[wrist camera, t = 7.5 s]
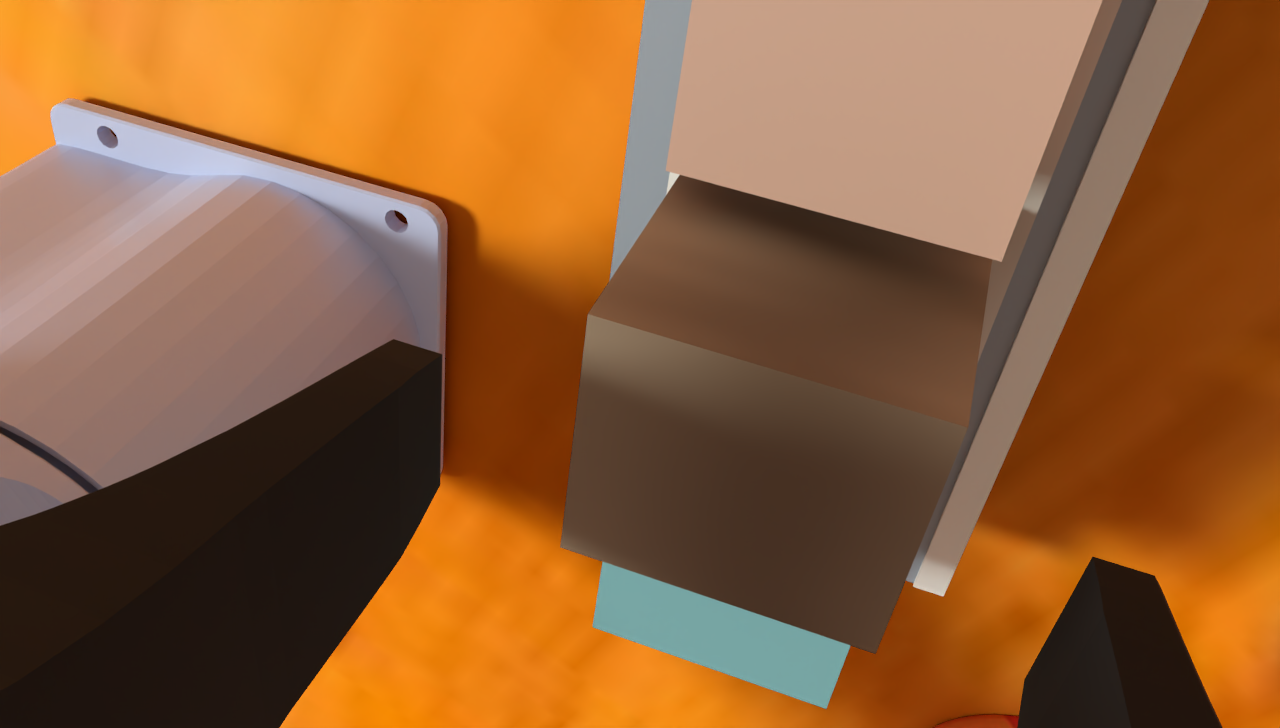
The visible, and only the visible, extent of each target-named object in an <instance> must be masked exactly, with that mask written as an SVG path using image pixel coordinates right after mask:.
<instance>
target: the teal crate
mask: <svg viewBox="0 0 1280 728" xmlns="http://www.w3.org/2000/svg"><path fill="white" fill-rule="evenodd" d="M593 627H594V628H596V629H599V630H602V631H605V632H608V633H611V634H614V635H616V636H619V637H622V638H625V639H628V640H631V641H634V642H636V643H639V644H642V645H645V646H648V647H651V648H654V649H656V650H659V651H662V652H665V653H668V654H671V655H674V656H676V657H679V658H682V659H685V660H688V661H691V662H694V663H696V664H699V665H702V666H705V667H708V668H711V669H713V670H716V671H719V672H722V673H725V674H728V675H731V676H733V677H736V678H739V679H742V680H745V681H748V682H751V683H753V684H756V685H759V686H762V687H765V688H768V689H771V690H773V691H776V692H779V693H782V694H785V695H788V696H791V697H793V698H796V699H799V700H802V701H805V702H808V703H811V704H813V705H816V706H819V707H822V708H825V709H826V708H827V706H828V703H829V700H830V698H831V695H832V693H833V690H834V687H835V685H836V682H837V680H838V677H839V674H840V672H841V669H842V667H843V664H844V661H845V659H846V656H847V654H848V651H849V648H850V646H851V645H848V644H845V643H842V642H839V641H836V640H833V639H830V638H827V637H824V636H821V635H818V634H815V633H812V632H809V631H806V630H803V629H800V628H797V627H794V626H791V625H789V624H786V623H783V622H780V621H777V620H774V619H771V618H768V617H765V616H762V615H759V614H756V613H753V612H750V611H747V610H744V609H741V608H738V607H735V606H732V605H730V604H727V603H724V602H721V601H718V600H715V599H712V598H709V597H706V596H703V595H700V594H697V593H694V592H691V591H688V590H685V589H682V588H679V587H676V586H673V585H670V584H668V583H665V582H662V581H659V580H656V579H653V578H650V577H647V576H644V575H641V574H638V573H635V572H632V571H629V570H626V569H623V568H620V567H617V566H614V565H611V564H608V563H606V562H603V563H602V569H601V576H600V582H599V589H598V595H597V602H596V608H595V615H594V621H593Z"/></svg>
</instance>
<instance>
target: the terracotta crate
mask: <svg viewBox="0 0 1280 728" xmlns="http://www.w3.org/2000/svg"><path fill="white" fill-rule="evenodd" d="M1102 1H1103V0H692V3H691V10H690V16H689V23H688V29H687V36H686V42H685V49H684V55H683V61H682V68H681V74H680V81H679V87H678V94H677V100H676V107H675V113H674V120H673V126H672V132H671V139H670V145H669V152H668V158H667V165H666V171H668V172H672V173H676V174H679V175H683V176H687V177H690V178H694V179H698V180H701V181H705V182H709V183H713V184H716V185H720V186H724V187H727V188H731V189H735V190H738V191H742V192H746V193H749V194H753V195H757V196H760V197H764V198H768V199H772V200H775V201H779V202H783V203H786V204H790V205H794V206H797V207H801V208H805V209H808V210H812V211H816V212H820V213H823V214H827V215H831V216H834V217H838V218H842V219H845V220H849V221H853V222H856V223H860V224H864V225H868V226H871V227H875V228H879V229H882V230H886V231H890V232H893V233H897V234H901V235H904V236H908V237H912V238H915V239H919V240H923V241H927V242H930V243H934V244H938V245H941V246H945V247H949V248H952V249H956V250H960V251H963V252H967V253H971V254H975V255H978V256H982V257H986V258H989V259H993V260H997V261H1000V262H1002V259H1003V257H1004V254H1005V252H1006V249H1007V247H1008V244H1009V241H1010V239H1011V236H1012V234H1013V231H1014V228H1015V226H1016V223H1017V221H1018V218H1019V215H1020V213H1021V210H1022V208H1023V205H1024V203H1025V200H1026V197H1027V195H1028V192H1029V190H1030V187H1031V184H1032V182H1033V179H1034V177H1035V174H1036V171H1037V169H1038V166H1039V164H1040V161H1041V158H1042V156H1043V153H1044V151H1045V148H1046V146H1047V143H1048V140H1049V138H1050V135H1051V133H1052V130H1053V127H1054V125H1055V122H1056V120H1057V117H1058V114H1059V112H1060V109H1061V107H1062V104H1063V102H1064V99H1065V96H1066V94H1067V91H1068V89H1069V86H1070V83H1071V81H1072V78H1073V76H1074V73H1075V70H1076V68H1077V65H1078V63H1079V60H1080V58H1081V55H1082V52H1083V50H1084V47H1085V45H1086V42H1087V39H1088V37H1089V34H1090V32H1091V29H1092V26H1093V24H1094V21H1095V19H1096V16H1097V14H1098V11H1099V8H1100V6H1101V3H1102Z"/></svg>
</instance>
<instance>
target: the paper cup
mask: <svg viewBox="0 0 1280 728" xmlns="http://www.w3.org/2000/svg"><path fill="white" fill-rule="evenodd" d="M1018 719H1019V716H1011V715H995V714H991V715H974V716H966V717H961V718H957V719H953V720H950V721H947V722H944V723H941V724H939V725H937V726H935V727H933V728H1017V726H1018Z"/></svg>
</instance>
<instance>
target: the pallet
mask: <svg viewBox="0 0 1280 728" xmlns="http://www.w3.org/2000/svg"><path fill="white" fill-rule="evenodd" d="M1121 2H1122V0H1103V1H1102V3H1101V6H1100V8H1099V11H1098V14H1097V16H1096V19H1095V21H1094V24H1093V26H1092V29H1091V32H1090V34H1089V37H1088V39H1087V42H1086V45H1085V47H1084V50H1083V52H1082V55H1081V58H1080V60H1079V63H1078V65H1077V68H1076V70H1075V73H1074V76H1073V78H1072V81H1071V83H1070V86H1069V89H1068V91H1067V94H1066V96H1065V99H1064V102H1063V104H1062V107H1061V109H1060V112H1059V114H1058V117H1057V120H1056V122H1055V125H1054V127H1053V130H1052V133H1051V135H1050V138H1049V140H1048V143H1047V146H1046V148H1045V151H1044V153H1043V156H1042V158H1041V161H1040V164H1039V166H1038V169H1037V171H1036V174H1035V177H1034V179H1033V182H1032V184H1031V187H1030V190H1029V192H1028V195H1027V197H1026V200H1025V203H1024V205H1023V208H1022V210H1021V213H1020V215H1019V218H1018V221H1017V223H1016V226H1015V228H1014V231H1013V234H1012V236H1011V239H1010V241H1009V244H1008V247H1007V249H1006V252H1005V254H1004V257H1003V259H1002V262H1000V261H997V260H993V259H989V258H986V257H982V256H978V255H975V254H971V253H967V252H963V251H960V250H956V249H952V248H949V247H945V246H941V245H938V244H934V243H930V242H927V241H923V240H919V239H915V238H912V237H908V236H904V235H901V234H897V233H893V232H890V231H886V230H882V229H879V228H875V227H871V226H868V225H864V224H860V223H856V222H853V221H849V220H845V219H842V218H838V217H834V216H831V215H827V214H823V213H820V212H816V211H812V210H808V209H805V208H801V207H797V206H794V205H790V204H786V203H783V202H779V201H775V200H772V199H768V198H764V197H760V196H757V195H753V194H749V193H746V192H742V191H738V190H735V189H731V188H727V187H724V186H720V185H716V184H713V183H709V182H705V181H701V180H698V179H694V178H690V177H687V176H683V175H679V174H676V173H672V172H670V174H669V180H668V186H667V193H666V196H665V198H664V199H663V201H662V202H661V204H660V205H659V207H658V208H657V210H656V211H655V213H654V214H653V216H652V217H651V219H650V220H649V222H648V224H647V225H646V227H645V228H644V230H643V231H642V233H641V234H640V236H639V237H638V239H637V240H636V242H635V243H634V245H633V246H632V248H631V249H630V251H629V252H628V254H627V255H626V257H625V258H624V260H623V261H622V263H621V264H620V266H619V267H618V269H617V271H616V272H615V274H614V275H613V277H612V278H611V280H610V281H609V283H608V284H607V286H606V287H605V289H604V290H603V292H602V293H601V295H600V296H599V298H598V299H597V301H596V302H595V304H594V305H593V307H592V308H591V310H590V311H589V313H588V317H587V325H586V334H585V342H584V351H583V359H582V368H581V376H580V385H579V393H578V402H577V410H576V419H575V427H574V436H573V444H572V453H571V461H570V470H569V478H568V487H567V495H566V504H565V512H564V521H563V529H562V538H561V546H560V547H561V548H564V549H567V550H570V551H573V552H576V553H579V554H582V555H585V556H588V557H591V558H594V559H597V560H600V561H603V562H606V563H608V564H611V565H614V566H617V567H620V568H623V569H626V570H629V571H632V572H635V573H638V574H641V575H644V576H647V577H650V578H653V579H656V580H659V581H662V582H665V583H668V584H670V585H673V586H676V587H679V588H682V589H685V590H688V591H691V592H694V593H697V594H700V595H703V596H706V597H709V598H712V599H715V600H718V601H721V602H724V603H727V604H730V605H732V606H735V607H738V608H741V609H744V610H747V611H750V612H753V613H756V614H759V615H762V616H765V617H768V618H771V619H774V620H777V621H780V622H783V623H786V624H789V625H791V626H794V627H797V628H800V629H803V630H806V631H809V632H812V633H815V634H818V635H821V636H824V637H827V638H830V639H833V640H836V641H839V642H842V643H845V644H848V645H851V646H853V647H856V648H859V649H862V650H865V651H868V652H871V653H874V654H876V651H877V649H878V647H879V644H880V642H881V639H882V637H883V634H884V632H885V630H886V627H887V625H888V622H889V620H890V617H891V615H892V612H893V610H894V608H895V605H896V603H897V600H898V598H899V595H900V593H901V591H902V588H903V586H904V583H905V581H906V578H907V576H908V573H909V571H910V569H911V566H912V564H913V561H914V559H915V556H916V554H917V551H918V549H919V547H920V544H921V542H922V539H923V537H924V534H925V532H926V530H927V527H928V525H929V522H930V520H931V517H932V515H933V512H934V510H935V508H936V505H937V503H938V500H939V498H940V495H941V493H942V491H943V488H944V486H945V483H946V481H947V478H948V476H949V473H950V471H951V469H952V466H953V464H954V461H955V459H956V456H957V454H958V451H959V449H960V447H961V444H962V442H963V439H964V437H965V434H966V432H967V430H968V426H969V419H970V412H971V405H972V398H973V391H974V384H975V377H976V370H977V364H978V361H979V359H980V356H981V353H982V351H983V348H984V346H985V343H986V341H987V338H988V336H989V333H990V331H991V328H992V326H993V323H994V321H995V318H996V316H997V313H998V311H999V308H1000V306H1001V303H1002V301H1003V298H1004V296H1005V293H1006V291H1007V288H1008V286H1009V283H1010V281H1011V278H1012V276H1013V273H1014V271H1015V268H1016V266H1017V263H1018V261H1019V258H1020V255H1021V253H1022V250H1023V248H1024V245H1025V243H1026V240H1027V238H1028V235H1029V233H1030V230H1031V228H1032V225H1033V223H1034V220H1035V218H1036V215H1037V213H1038V210H1039V208H1040V205H1041V203H1042V200H1043V198H1044V195H1045V193H1046V190H1047V188H1048V185H1049V183H1050V180H1051V178H1052V175H1053V173H1054V170H1055V168H1056V165H1057V163H1058V160H1059V157H1060V155H1061V152H1062V150H1063V147H1064V145H1065V142H1066V140H1067V137H1068V135H1069V132H1070V130H1071V127H1072V125H1073V122H1074V120H1075V117H1076V115H1077V112H1078V110H1079V107H1080V105H1081V102H1082V100H1083V97H1084V95H1085V92H1086V90H1087V87H1088V85H1089V82H1090V80H1091V77H1092V75H1093V72H1094V70H1095V67H1096V64H1097V62H1098V59H1099V57H1100V54H1101V52H1102V49H1103V47H1104V44H1105V42H1106V39H1107V37H1108V34H1109V32H1110V29H1111V27H1112V24H1113V22H1114V19H1115V17H1116V14H1117V12H1118V9H1119V7H1120V4H1121Z"/></svg>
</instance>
